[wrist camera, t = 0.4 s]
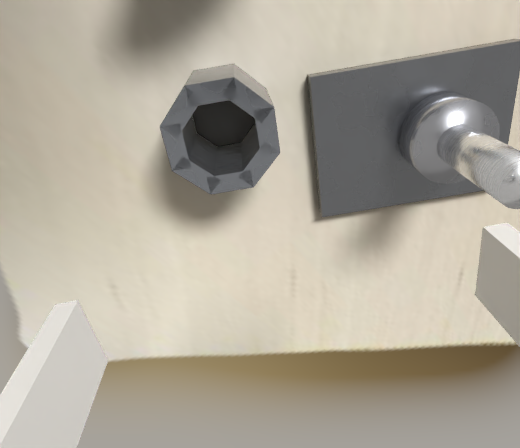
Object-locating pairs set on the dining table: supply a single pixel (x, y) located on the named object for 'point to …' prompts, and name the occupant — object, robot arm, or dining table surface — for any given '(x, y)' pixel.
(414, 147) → the shaft fixture
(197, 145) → the tube
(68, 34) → the dining table surface
